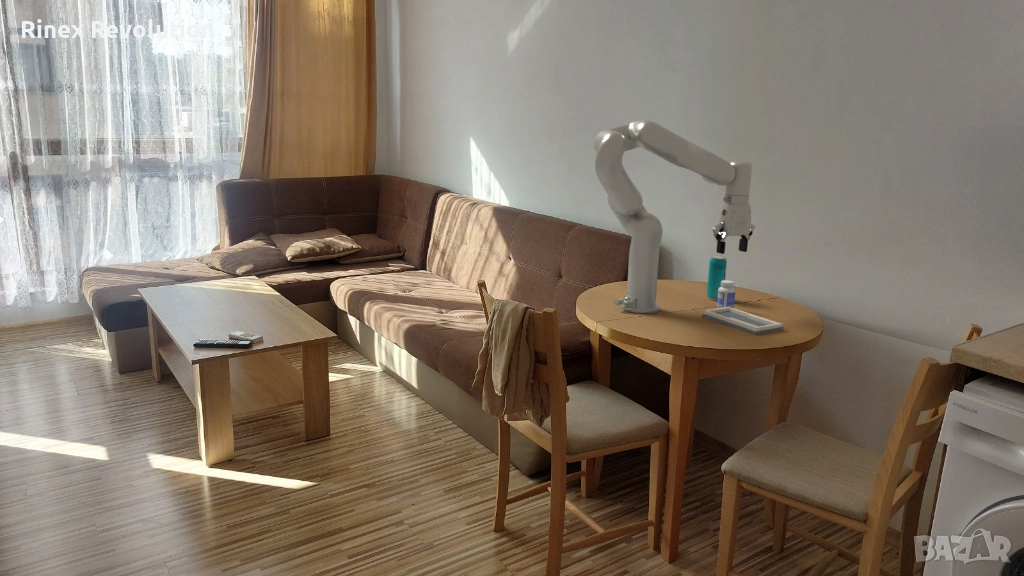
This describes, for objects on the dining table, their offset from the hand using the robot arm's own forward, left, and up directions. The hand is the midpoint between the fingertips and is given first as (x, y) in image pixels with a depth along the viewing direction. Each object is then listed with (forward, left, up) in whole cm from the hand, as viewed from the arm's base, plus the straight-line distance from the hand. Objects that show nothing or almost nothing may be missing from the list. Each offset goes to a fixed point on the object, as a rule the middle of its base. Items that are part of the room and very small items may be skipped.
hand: (731, 252), depth 244 cm
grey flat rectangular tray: (-9, -15, -19) cm, 26 cm away
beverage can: (+6, +12, -19) cm, 23 cm away
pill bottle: (-2, -1, -19) cm, 20 cm away
